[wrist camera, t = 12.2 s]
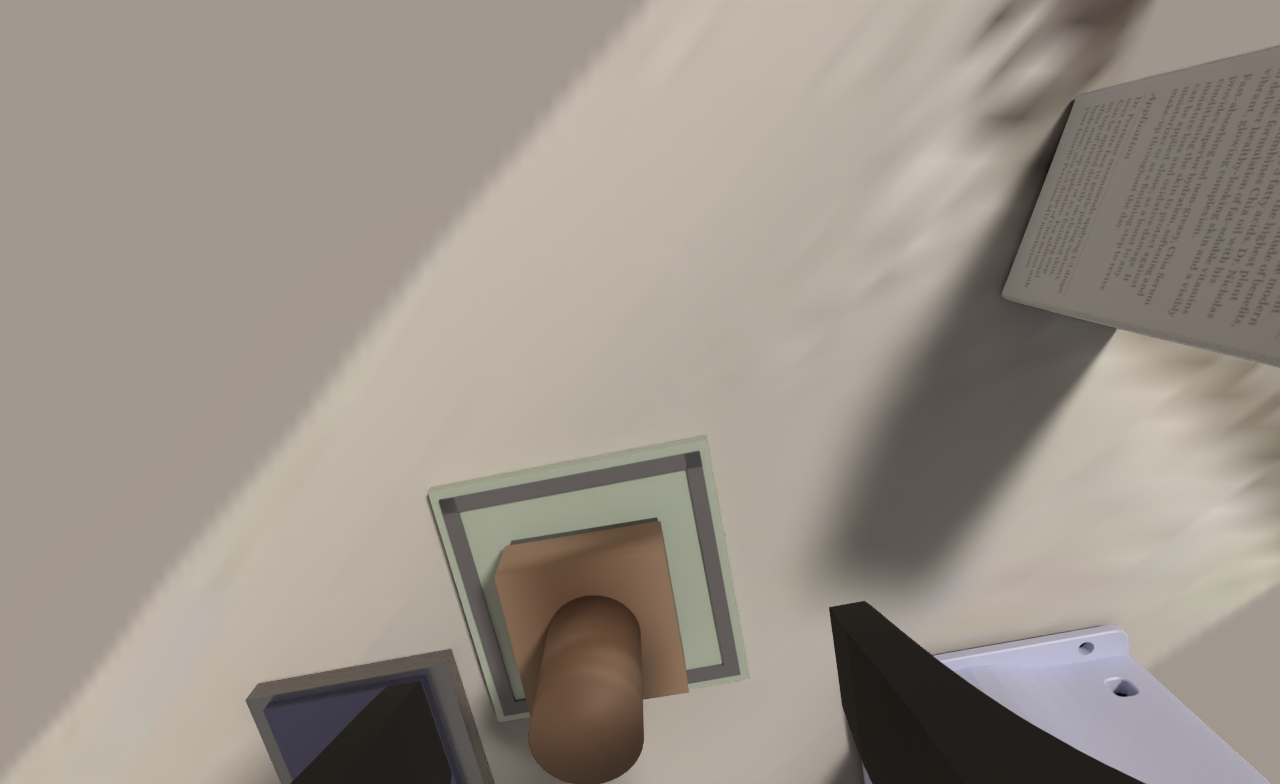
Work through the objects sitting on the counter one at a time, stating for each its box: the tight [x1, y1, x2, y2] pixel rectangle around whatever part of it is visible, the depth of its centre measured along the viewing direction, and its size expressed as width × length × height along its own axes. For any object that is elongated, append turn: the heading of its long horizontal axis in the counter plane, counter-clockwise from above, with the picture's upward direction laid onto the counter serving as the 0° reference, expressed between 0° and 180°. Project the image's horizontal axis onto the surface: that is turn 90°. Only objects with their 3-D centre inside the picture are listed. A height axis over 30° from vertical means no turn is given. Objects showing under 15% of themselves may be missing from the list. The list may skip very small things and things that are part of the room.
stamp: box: [494, 517, 689, 784], centre depth 19 cm, size 5×5×6 cm
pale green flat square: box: [428, 436, 750, 722], centre depth 22 cm, size 9×9×1 cm
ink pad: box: [246, 649, 494, 784], centre depth 24 cm, size 7×7×1 cm
